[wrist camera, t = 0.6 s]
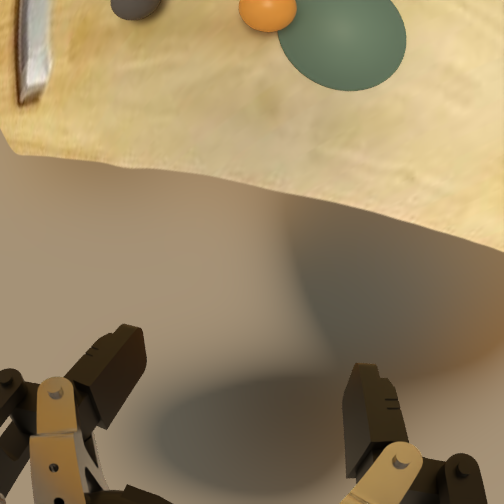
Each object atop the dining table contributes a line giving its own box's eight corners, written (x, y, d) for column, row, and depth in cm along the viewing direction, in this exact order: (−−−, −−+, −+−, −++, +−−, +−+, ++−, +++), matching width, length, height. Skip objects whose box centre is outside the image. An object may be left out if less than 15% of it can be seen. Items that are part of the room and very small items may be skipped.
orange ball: (233, 18, 25) (222, 12, 21) (261, -19, 22) (255, -32, 18) (277, 42, 26) (275, 40, 22) (306, 5, 23) (309, -4, 19)
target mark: (251, 43, 27) (251, 43, 26) (322, -46, 19) (323, -47, 19) (358, 115, 30) (359, 115, 30) (427, 31, 22) (428, 31, 22)
